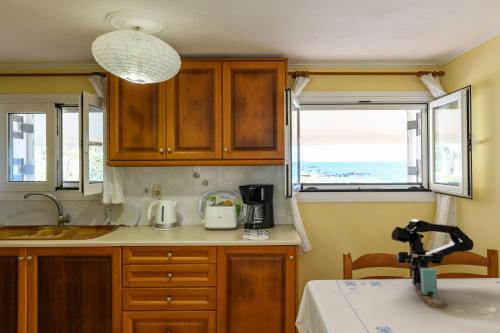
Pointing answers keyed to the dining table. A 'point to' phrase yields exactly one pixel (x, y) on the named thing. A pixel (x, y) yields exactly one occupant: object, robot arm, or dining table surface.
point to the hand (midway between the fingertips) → (424, 274)
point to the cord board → (430, 298)
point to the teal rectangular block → (428, 281)
